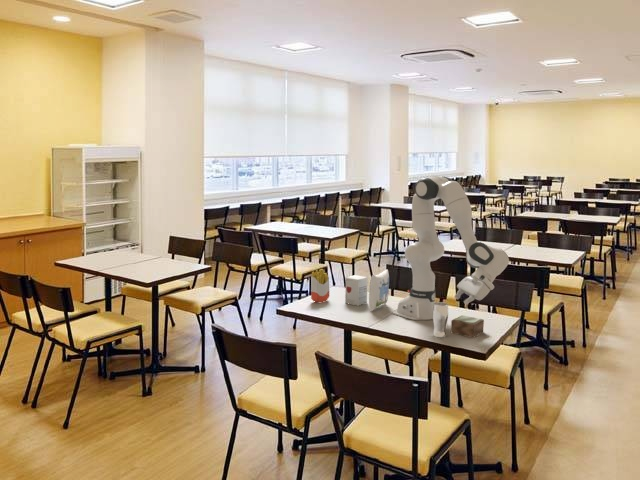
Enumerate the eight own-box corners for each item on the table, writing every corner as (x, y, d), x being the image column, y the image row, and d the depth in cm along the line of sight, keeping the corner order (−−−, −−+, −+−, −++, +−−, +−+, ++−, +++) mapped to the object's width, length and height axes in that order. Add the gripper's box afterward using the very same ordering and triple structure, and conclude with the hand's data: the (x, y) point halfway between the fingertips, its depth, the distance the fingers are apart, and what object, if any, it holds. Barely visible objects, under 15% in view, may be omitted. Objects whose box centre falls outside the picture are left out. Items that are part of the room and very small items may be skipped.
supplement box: (344, 303, 320) (345, 277, 318) (354, 300, 327) (354, 274, 324) (357, 306, 314) (358, 279, 312) (367, 303, 321) (367, 276, 319)
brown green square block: (450, 332, 268) (451, 319, 267) (461, 327, 277) (461, 314, 276) (473, 337, 261) (473, 323, 260) (483, 332, 270) (483, 318, 269)
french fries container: (329, 300, 326) (330, 269, 323) (317, 304, 318) (317, 272, 315) (323, 299, 329) (324, 268, 326) (310, 302, 321) (311, 271, 318)
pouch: (363, 310, 305) (364, 273, 302) (380, 303, 321) (381, 268, 318) (376, 313, 301) (377, 275, 298) (393, 305, 317) (394, 269, 314)
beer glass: (432, 332, 268) (433, 301, 266) (447, 334, 266) (449, 302, 264) (431, 337, 261) (432, 305, 259) (446, 338, 259) (448, 306, 257)
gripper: (466, 270, 273) (446, 291, 272) (487, 279, 253) (465, 301, 253) (475, 279, 274) (455, 299, 274) (496, 288, 255) (474, 311, 254)
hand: (460, 300), depth 263 cm, fingers open, 8 cm apart
